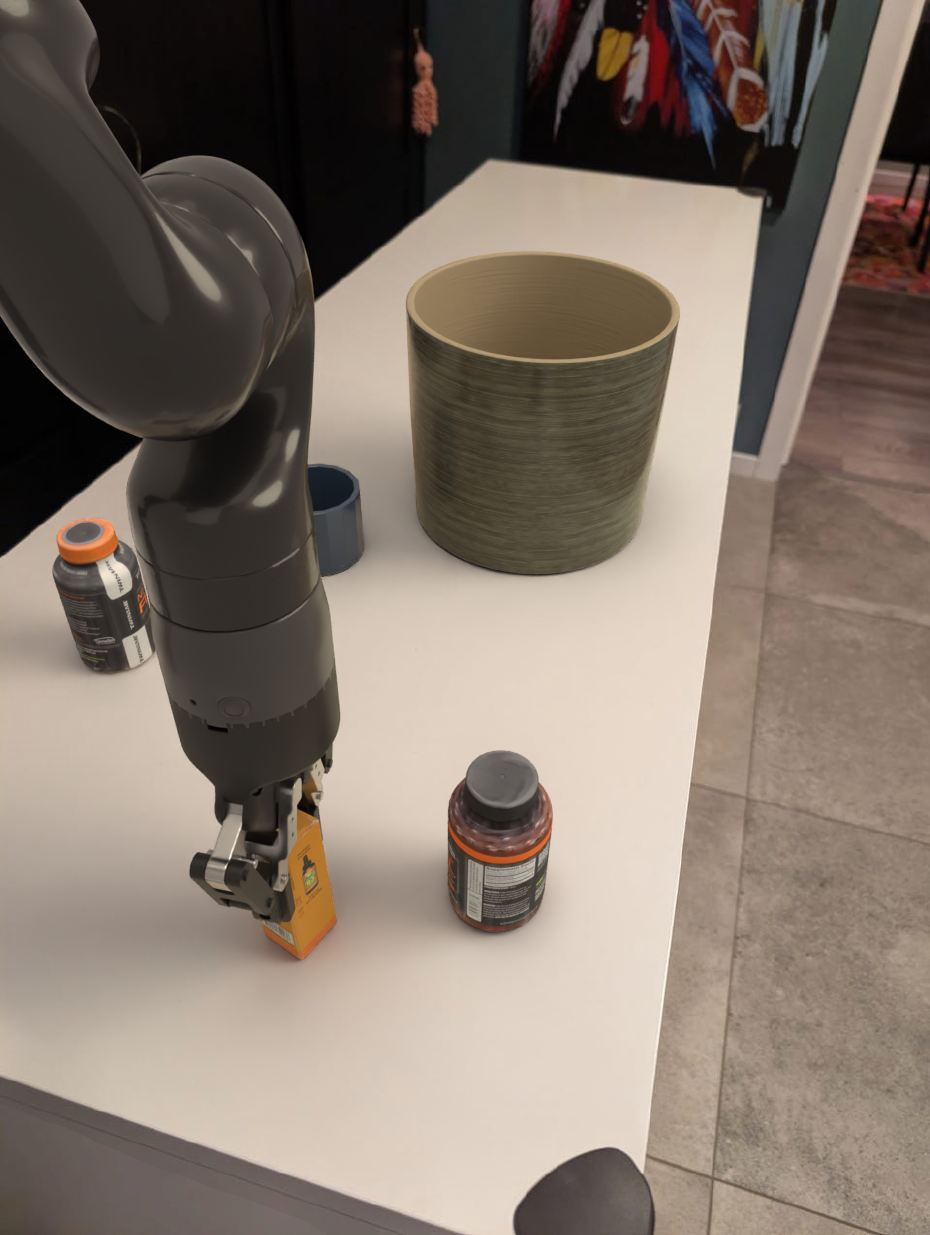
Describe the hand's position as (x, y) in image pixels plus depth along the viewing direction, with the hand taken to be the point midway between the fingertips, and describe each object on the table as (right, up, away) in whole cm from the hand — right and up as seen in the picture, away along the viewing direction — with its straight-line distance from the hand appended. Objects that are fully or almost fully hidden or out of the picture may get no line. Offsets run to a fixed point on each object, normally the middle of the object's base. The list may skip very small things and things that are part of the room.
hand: (289, 878), depth 54 cm
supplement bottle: (+12, -3, +6) cm, 13 cm away
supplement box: (0, -4, +4) cm, 5 cm away
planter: (+16, +25, +37) cm, 48 cm away
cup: (-3, +21, +32) cm, 38 cm away
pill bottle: (-17, +12, +22) cm, 30 cm away
